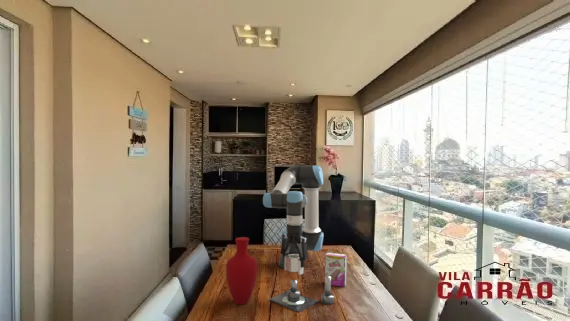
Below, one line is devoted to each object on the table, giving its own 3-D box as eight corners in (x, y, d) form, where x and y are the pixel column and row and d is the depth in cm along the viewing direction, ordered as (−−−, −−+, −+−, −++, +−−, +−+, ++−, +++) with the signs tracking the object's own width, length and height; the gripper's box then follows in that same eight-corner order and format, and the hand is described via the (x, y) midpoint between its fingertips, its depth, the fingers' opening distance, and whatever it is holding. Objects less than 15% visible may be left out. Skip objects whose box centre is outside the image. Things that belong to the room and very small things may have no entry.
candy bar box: (324, 284, 175) (324, 254, 175) (326, 281, 180) (326, 252, 180) (345, 287, 171) (345, 256, 171) (346, 284, 176) (346, 254, 176)
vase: (229, 311, 143) (230, 243, 143) (222, 298, 156) (223, 236, 157) (261, 305, 149) (262, 240, 149) (251, 293, 162) (252, 233, 162)
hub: (269, 300, 154) (270, 279, 154) (288, 292, 165) (289, 272, 165) (299, 312, 142) (299, 289, 142) (317, 302, 153) (317, 281, 153)
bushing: (281, 269, 153) (282, 256, 153) (292, 265, 159) (292, 253, 159) (294, 273, 148) (295, 259, 148) (305, 268, 154) (305, 256, 154)
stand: (318, 301, 153) (319, 276, 154) (325, 297, 158) (326, 273, 158) (329, 305, 149) (329, 279, 150) (336, 301, 154) (336, 276, 154)
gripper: (273, 222, 158) (272, 268, 157) (307, 228, 144) (306, 279, 144) (283, 220, 163) (282, 265, 163) (316, 225, 150) (316, 274, 149)
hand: (293, 271), depth 153 cm, fingers closed on bushing, 8 cm apart
